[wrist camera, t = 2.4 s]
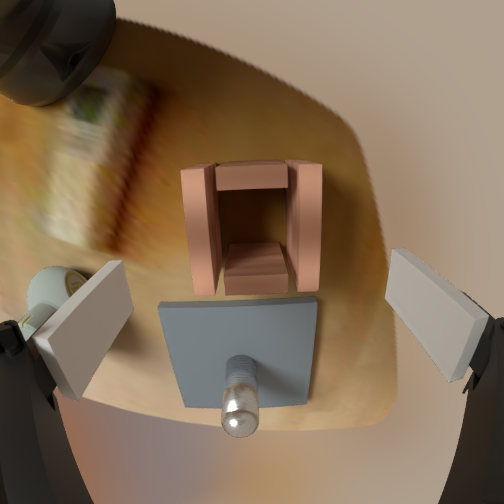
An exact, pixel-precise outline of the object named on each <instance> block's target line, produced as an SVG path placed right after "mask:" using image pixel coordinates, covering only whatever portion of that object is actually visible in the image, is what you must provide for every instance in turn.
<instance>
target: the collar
mask: <svg viewBox="0 0 504 504" xmlns="http://www.w3.org/2000/svg"><path fill="white" fill-rule="evenodd" d="M181 181H182V193H183V204H184V214H185V223H186V232H187V241H188V249H189V257H190V265H191V272H192V279H193V286H194V293H195V296H215V294H216V290H217V285H218V280H219V275H220V271H221V266H222V261H223V255H222V243H221V230H220V217H219V203H218V191H221V190H238V189H261V188H286V233H287V259H288V262H289V265H290V268H291V271H292V274H293V278H294V281H295V284H296V287H297V290H298V292H309V291H318V289H319V272H320V253H321V225H322V164H319V163H315V162H310V161H306V160H285V163H283V162H280V161H278V160H256V161H235V162H224V163H222V164H220V165H219V166H217V167H216V163H205V164H198V165H195V166H192V167H189V168H186V169H183V170H181ZM224 285H225V295H226V296H227V295H253V294H274V293H288V271H287V268H286V265H285V262H284V258H283V255H282V252H281V248H280V245H279V242H263V243H241V244H230V245H229V251H228V256H227V262H226V267H225V273H224Z"/></svg>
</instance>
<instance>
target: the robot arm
mask: <svg viewBox="0 0 504 504" xmlns="http://www.w3.org/2000/svg"><path fill="white" fill-rule="evenodd" d="M115 21H116V8H115V4H114V1H113V0H0V93H1V94H3V95H4V96H6V97H8V98H9V99H10V100H12V101H13V102H15V103H17V104H21V105H28V106H44V105H48V104H51V103H54V102H56V101H58V100H60V99H62V98H63V97H65V96H66V95H68V94H69V93H70V92H72V91H73V90H74V89H75V88H76V87H78V86H79V85H80V84H81V83H82V82H83V81H84V80H85V78H86V77H87V76H88V75H89V74H90V73H91V71H92V70H93V69H94V68H95V66H96V65H97V63H98V62H99V60H100V59H101V57H102V55H103V54H104V52H105V50H106V48H107V46H108V44H109V42H110V39H111V37H112V34H113V30H114V26H115ZM385 299H386V300H387V302H388V303H389V304H390V305H391V307H392V308H393V309H394V310H395V312H396V313H397V314H398V315H399V316H400V318H401V319H402V320H403V322H404V323H405V324H406V326H407V327H408V328H409V330H410V331H411V332H412V333H413V334H414V336H415V337H416V339H417V340H418V341H419V343H420V344H421V345H422V347H423V348H424V349H425V351H426V352H427V354H428V355H429V356H430V358H431V359H432V360H433V362H434V363H435V365H436V366H437V367H438V369H439V370H440V371H441V373H442V375H443V376H444V377H445V379H446V380H447V382H448V383H450V382H453V381H456V380H459V379H461V378H463V376H464V375H465V373H466V371H467V368H468V366H470V367H471V368H472V370H473V373H472V375H471V377H470V379H469V381H468V382H467V384H466V386H465V388H464V390H463V392H462V393H463V394H465V392H466V390H467V389H468V396H467V402H466V408H465V413H464V419H463V424H462V428H461V433H460V437H459V441H458V445H457V449H456V453H455V456H454V460H453V463H452V466H451V470H450V473H449V475H448V478H447V481H446V484H445V487H444V490H443V492H442V495H441V498H440V500H439V503H438V504H504V318H503V317H502V318H497V319H496V320H495V319H494V318H493V317H492V316H491V315H490V314H489V313H488V312H486V311H485V310H484V309H483V308H482V307H481V306H479V305H477V303H476V302H475V301H474V300H472V299H471V298H470V297H469V296H468V295H466V294H465V293H464V292H462V291H460V290H459V289H457V288H456V287H455V286H454V285H452V284H451V283H450V282H449V281H447V280H446V279H445V278H444V277H442V276H441V275H440V274H439V273H437V272H436V271H435V270H433V269H432V268H431V267H429V266H428V265H427V264H426V263H424V262H423V261H422V260H420V259H419V258H417V257H416V256H415V255H414V254H412V253H411V252H409V251H408V250H407V249H405V248H397V249H396V248H395V249H392V255H391V262H390V269H389V276H388V282H387V288H386V294H385ZM133 310H134V307H133V303H132V299H131V295H130V291H129V287H128V282H127V278H126V273H125V269H124V264H123V260H115V261H109V262H108V263H107V264H105V265H104V266H103V267H102V268H101V269H100V270H99V271H98V272H97V273H96V274H94V275H93V276H92V277H91V278H90V279H89V280H88V281H87V282H86V283H85V284H84V285H83V286H82V287H81V288H79V289H78V290H77V291H76V292H75V293H74V294H73V295H72V296H71V297H70V298H69V299H68V300H67V301H66V302H65V303H64V304H63V305H62V306H61V307H60V308H59V309H58V310H56V311H55V312H53V313H52V314H51V315H50V316H49V317H48V318H47V320H45V322H44V323H43V324H42V326H40V327H39V328H38V329H37V330H36V331H35V332H34V333H33V334H32V335H31V336H30V337H29V338H28V340H27V341H25V339H24V336H23V334H22V332H21V330H20V327H19V325H18V322H16V321H15V320H9V321H4V322H2V323H0V504H94V503H93V501H92V499H91V497H90V494H89V492H88V490H87V488H86V486H85V483H84V481H83V479H82V476H81V474H80V471H79V469H78V466H77V464H76V461H75V459H74V456H73V453H72V450H71V447H70V444H69V441H68V439H67V435H66V431H65V428H64V425H63V421H62V418H61V414H60V411H59V406H58V402H57V399H56V397H55V395H54V393H53V391H54V389H55V388H56V386H57V387H58V389H59V390H60V392H61V394H62V395H63V397H65V398H69V399H73V400H77V401H79V400H80V398H81V396H82V395H83V393H84V391H85V389H86V387H87V386H88V384H89V382H90V380H91V379H92V377H93V375H94V373H95V372H96V370H97V368H98V367H99V365H100V363H101V362H102V360H103V358H104V357H105V355H106V353H107V352H108V350H109V348H110V347H111V345H112V343H113V342H114V340H115V338H116V337H117V335H118V334H119V332H120V330H121V329H122V327H123V326H124V324H125V323H126V321H127V319H128V318H129V316H130V315H131V313H132V312H133Z"/></svg>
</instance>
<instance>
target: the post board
mask: <svg viewBox="0 0 504 504" xmlns="http://www.w3.org/2000/svg"><path fill="white" fill-rule="evenodd" d="M317 305H318V302H317V299H316V297H315V296H312V297H297V298H280V299H260V300H235V301H199V302H160V304H159V306H158V312H159V316H160V320H161V324H162V328H163V332H164V336H165V340H166V344H167V348H168V352H169V355H170V359H171V362H172V366H173V369H174V373H175V376H176V380H177V383H178V386H179V389H180V393H181V396H182V399H183V402H184V405H185V407H189V408H222V402H223V390H224V379H225V367H226V362H227V360H228V359H229V358H231V357H233V356H236V355H246V356H249V357H251V358H253V359H254V360H255V361H256V363H257V379H258V405H259V408H265V407H282V406H294V405H304V404H307V398H308V391H309V383H310V375H311V367H312V358H313V349H314V339H315V329H316V317H317Z"/></svg>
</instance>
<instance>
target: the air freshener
mask: <svg viewBox="0 0 504 504" xmlns="http://www.w3.org/2000/svg"><path fill="white" fill-rule="evenodd" d="M87 281H88V280H87V279H85V278H84V277H83V276H82V275H81V274H79V273H78V272H76V271H74V270H72V269H70V268H66V267H62V266H52V267H47V268H45V269H43V270H41V271H39V272H38V273H37V274H36V275H35V276H34V278H33V279H32V281H31V282H30V285H29V288H28V293H27V307H28V313H27V314H26V315H25V316H24V317H23V318H22V319H21V320H20V321H19V322H18V325H19V327H20V330H21V332H22V334H23V336H24V339H25V341H27V340H28V338H29V337H30V336H31V335H32V334H33V333H34V332H35V331H36V330H37V329H38V328H39V327H40V326H42V324H43V323H44V322H45V320H47V318H48V317H49V316H50V315H51V314H52V313H53V312H55V311H56V310H58V309H59V308H60V307H61V306H62V305H63V304H64V303H65V302H66V301H67V300H68V299H69V298H70V297H71V296H72V295H73V294H74V293H75V292H76V291H77V290H78V289H79V288H81V287H82V286H83V285H84V284H85V283H86V282H87Z"/></svg>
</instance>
